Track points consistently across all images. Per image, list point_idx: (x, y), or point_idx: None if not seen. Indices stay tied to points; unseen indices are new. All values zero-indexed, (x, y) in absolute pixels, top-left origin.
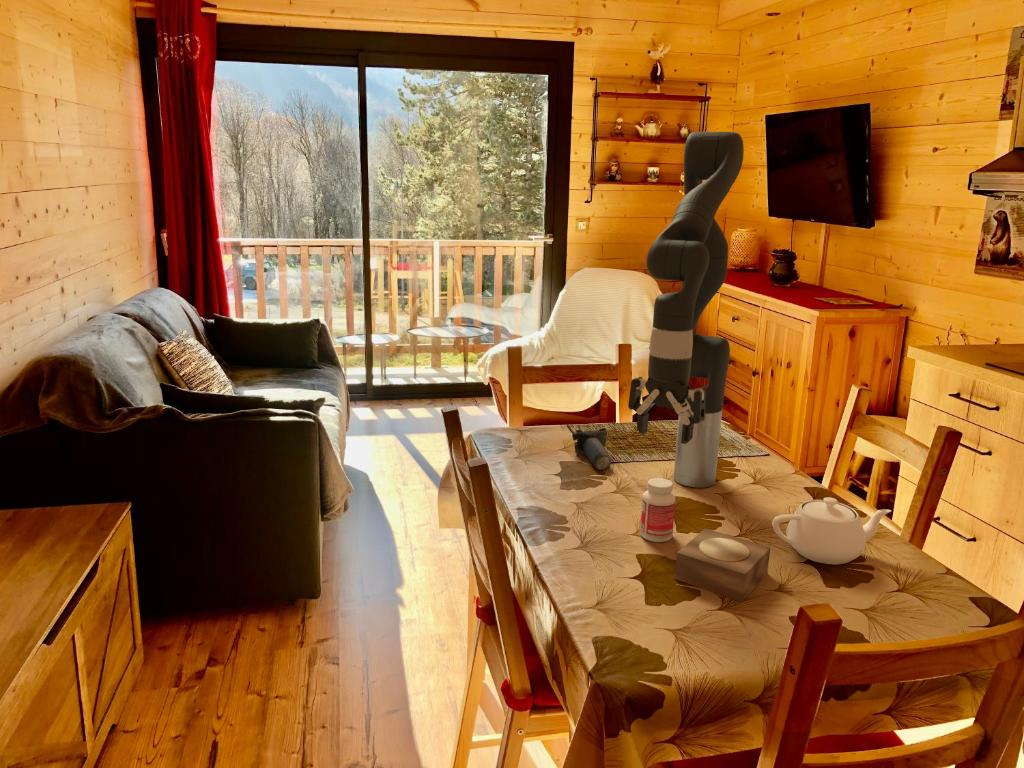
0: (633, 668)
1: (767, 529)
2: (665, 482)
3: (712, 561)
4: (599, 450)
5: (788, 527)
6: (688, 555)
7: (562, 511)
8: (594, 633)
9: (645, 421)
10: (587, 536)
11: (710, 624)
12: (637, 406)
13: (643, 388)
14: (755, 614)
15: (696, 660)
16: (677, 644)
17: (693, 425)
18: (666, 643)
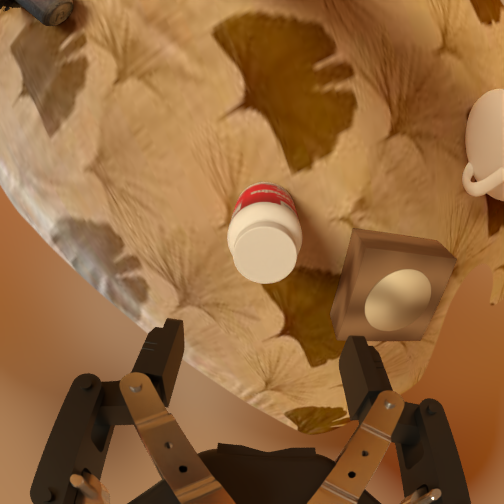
0: (324, 422)
1: (425, 87)
2: (276, 249)
3: (384, 336)
4: (39, 7)
5: (477, 156)
6: None
7: (95, 211)
8: (283, 410)
9: (172, 369)
10: (172, 267)
11: None
12: (122, 422)
13: (103, 488)
14: None
15: None
16: None
17: (391, 390)
18: (342, 397)
